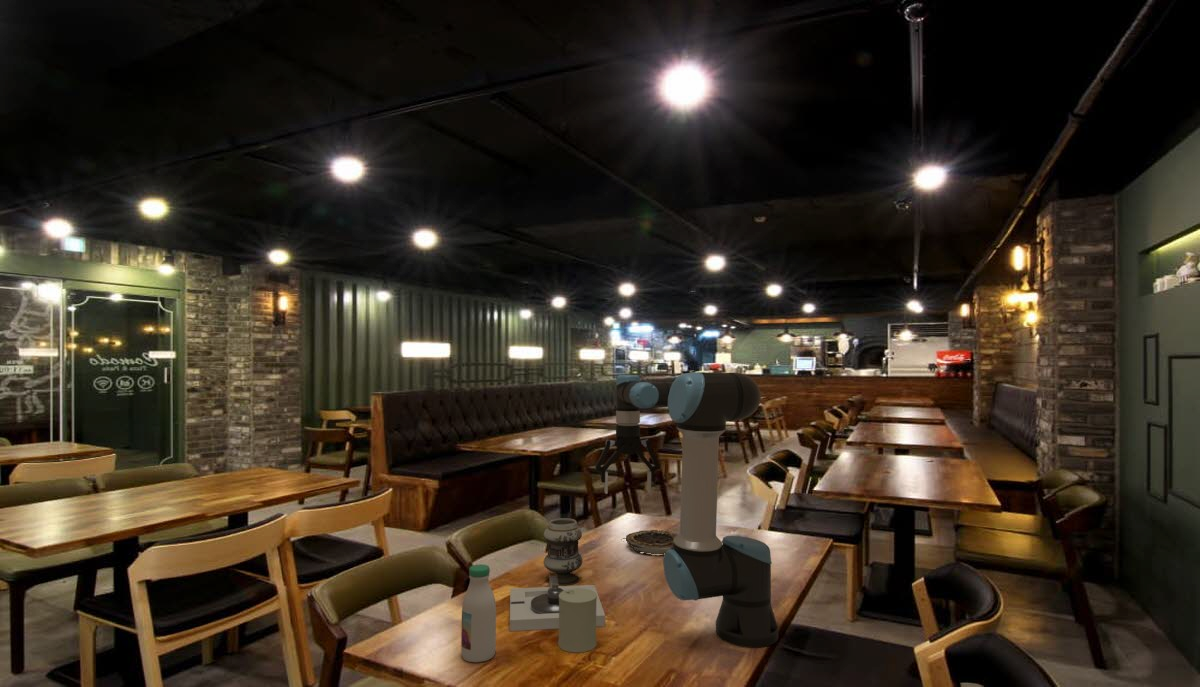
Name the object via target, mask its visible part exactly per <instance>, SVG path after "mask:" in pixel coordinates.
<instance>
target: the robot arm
mask: <svg viewBox="0 0 1200 687" xmlns="http://www.w3.org/2000/svg"><path fill="white" fill-rule="evenodd" d="M615 380H616V381H615V423H616V425H615V439H614V440H611V439H606V440H605V443H604V444H605V445H604V448H603V449H602V452H601V454H600V456H599V458H598V459H597V460H598V461H597V462H596V464H595V466H594V468H595V470H596V471H599V472H600V482H601V483H604V484H603V485H604V486H603V488H604V489H603V490H604V491H603V493H604V494H605V495H608V492H609V491H608V490H609V488H608V487H609V476H608V475H609V473H608V469H609V468H610V466H611V465H612V464H613V463H614V462H615V461H616V459H617V458H618V457H619V456H620V455H624V456H625V455H635V454H636V455H637V456H638V457H639V458H640V460H641V461H642V462H643V464H645V465H646V466H647V468H648V469H649V470H647V471H646V476H647V478H646V480H647V481H646V485H647V486H646V488H647V490H646V492H647V493H648V494H652V483H653V482H655V472H656V471H657V470H661V465H660V463H659V461H658V459H657V457H656V455H655V452H654V451H653V450H652V447H651V441H650V440H649V439H648V438H646V439H643V440H641V426H640V422H641V409H651V408H666V407H667V410H668V415H669V418H670V419H671V420H672V421H673V422H675V423H676V429H677V431H679V433H680V434H681V435H682V445H681V446H682V450H681V481H680V482H681V485H680V486H681V487H680V489H681V490H680V515H679V516H680V518H679V519H680V521H679V523H680V524H679V529H680V530H679V533H677V536H676V537H675V538H674V540H673V550H672V549H670V550H668V551H666V553H665V555H663V560H662V561H663V572H664V576H665V580H666V582H667V585H668V587H669V589H670V591H671V593H672V594H673V595H674V597H676V598H677V599H678V600H681V601H698V600H703V599H710V598H718V597H722V601H721V604H720V608H719V609H718V610H719V611H718V613H717V617H716V620H715V634H716V636H717V637H718V638H719V639H720V640H723V641H724V642H727V643H729V644H731V645H735V646H739V647H746V648H763V647H764V648H765V647H768V646H772V645H773V644H775V643H777V642H778V640H779V626H778V622H777V620H776V616H775V614H774V610H773V608H772V607H773V606H772V603H771V602H772V600H771V599H772V594H771V593H772V585H771V584H772V583H771V582H772V579H771V578H772V576H771V575H772V557H771V556H772V555H771V550H770V549H771V548H770V547H769V546H768V544H766V543H765V542H763V541H761V540H759V539H756V538H752V537H747V536H741V535H726V536H723V537H722V540H721V539H720V538H719V537H718V536H717V512H718V482H719V481H718V480H719V479H718V478H719V477H718V476H719V475H718V474H719V452H720V451H719V449H720V448H719V447H720V446H719V444H720V443H719V442H720V440H719V439H720V437H721V435H723V433H725V432H726V423H727V422H731V421H739V420H743V419H747V418H748V417H750V416H752V415H753V414H754V413H755V412H757V410H758V409H759V407H760V404H761V401H762V400H761V399H762V395H761V389H760V386H759V385H758V383H757V382H756V381H755V380H754V379H753V378H752V377H750V375H746V374H743V373H742V372H741V373H740V372H701V371H695V372H686V373H682V374H680V375H678V376H677V377H675V379H674V381H666V382H665V381H641V378H640V375H638V374H618V375H617V377H616V379H615ZM641 445H642V446H643V447H644V448H645V449H646V451H647V453H648V455H649V457H650V459H651V461H652V464H653V465H652V464H651V463H650V461H649V460H648V459H647V458H646V457H645V455H644V454H643V453H642V451H641V450H640V449H639V448H640V447H641ZM613 446H615V447H616V449H615V450H614V452H613V454H611V456H610V457H609V458H608V459H607V460H606V461H604V460H605V459H606V457H607V455H608V453H609V450H610V448H612V447H613ZM603 463H604V464H603Z"/></svg>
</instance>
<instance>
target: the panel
mask: <svg viewBox="0 0 1200 687" xmlns="http://www.w3.org/2000/svg"><path fill="white" fill-rule="evenodd" d="M558 588H561V589H562V590H563V591H564V590H568V589H574V588H583V589H589V590H592V591H594V592H595V593H596V594H597V599H596V628H597V627H599V628H600V627H606V614H605V611H604V608H603V605H602V602H601V600H600V597H599V594H598V591H597V589H596V585H594V584H584V585H582V584H581V585H563V586H561V585H558ZM548 589H550V586H538V587H519V588H517V587H515V588H513V587H511V588H510V589H509V591H510V592H509V596H510V597H509V598H510V599H509V632H521V631H538V630H559V613H549V614H538V613H536V612H534V611H533V610H532V609H531V601H532V599H533V598H535V597H537V596H539V595H542V594H547V593H548Z"/></svg>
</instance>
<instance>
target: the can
mask: <svg viewBox="0 0 1200 687" xmlns="http://www.w3.org/2000/svg"><path fill="white" fill-rule="evenodd" d="M597 594H598V593H597ZM597 594H596V593H595V592H594V591H592V590H589V589H583V588H574V589H568V590H564V591H562V592H561V593H560V594H559V629H558V642H557V646H558V647H559V649H560V650H563V651H565V652H567V653H568V652H569V653H576V654H579V653H586V652H589V651H592V650H594V649H595V648H596V647H597V644H598V642H597V627H596V599H597Z"/></svg>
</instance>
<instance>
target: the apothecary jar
mask: <svg viewBox="0 0 1200 687" xmlns="http://www.w3.org/2000/svg"><path fill="white" fill-rule="evenodd" d="M543 537H544V539H545V540H546V541H547V555H546V556H545V557H544V559H543V566H544V567H545V568H546V569H547V570H548V571H549V572H551V573H557V579H558V586H572V585H575V584H576V583H578V582H579V581H580V577H579V576H578V575H577V574H575V573H573V572H575V571H577V570H579V569H580V568H581V567H582V566H583V557H582V556H581V554H580V553H579V540H581V538H582V537H583V531H582V529H581V528H580V527H578V522H577V520H576V519H573V518H567V517H566V518H563V517H562V518H554V519H552V520H550V521H549V523H548V527H547V528H545V530H544V533H543ZM546 581H547V582H548V584H549V583H550V575H549V576H548V577H547V579H546Z"/></svg>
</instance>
